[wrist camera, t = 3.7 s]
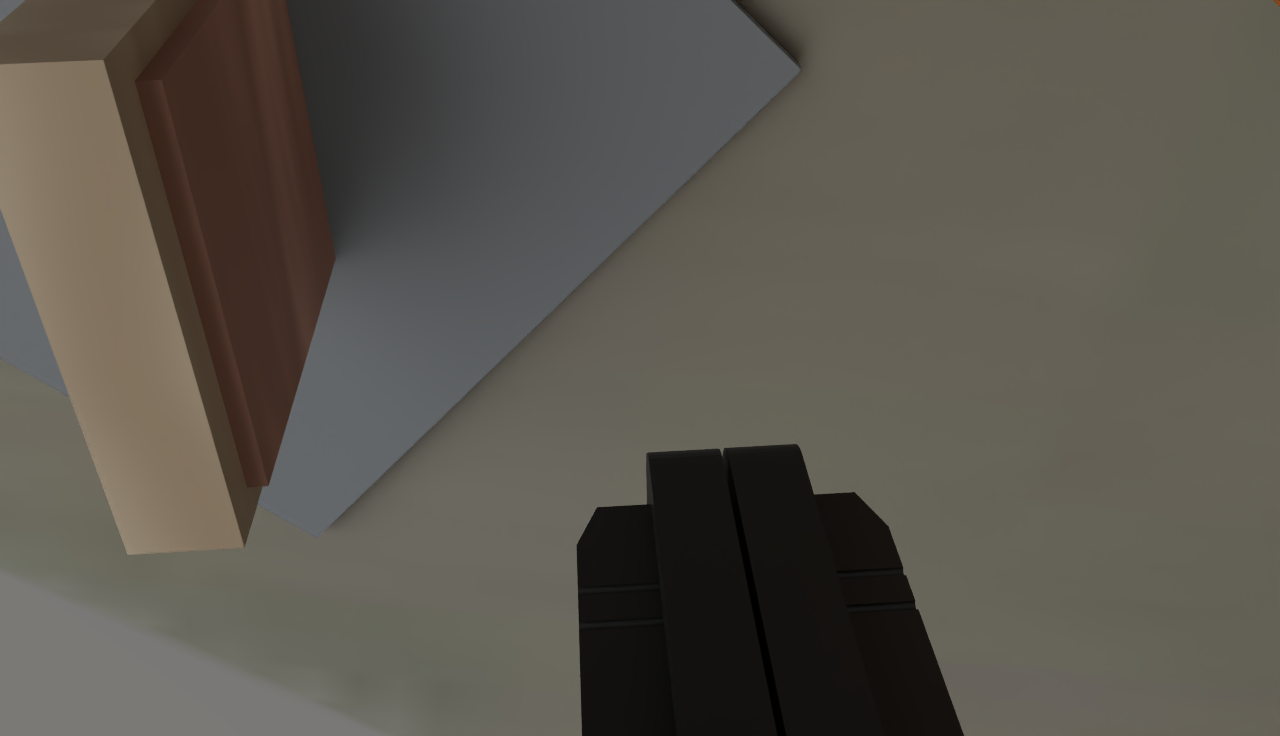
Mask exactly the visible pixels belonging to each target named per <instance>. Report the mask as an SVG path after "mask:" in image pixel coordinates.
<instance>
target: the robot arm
mask: <svg viewBox="0 0 1280 736" xmlns="http://www.w3.org/2000/svg"><path fill="white" fill-rule="evenodd" d="M646 476H647V505H630V506H613V507H597V509H596V510H595V512H594V514H593V516H592V518H591V520H590V521H589V523H588V525H587V527H586V529H585V531H584V533H583V534H582V536H581V538H580V540H579V542H578V544H577V573H578V608H579V643H580V678H581V713H582V736H964V734H963V732H962V729H961V726H960V723H959V721H958V718H957V715H956V712H955V710H954V707H953V704H952V701H951V698H950V696H949V693H948V690H947V687H946V685H945V682H944V679H943V676H942V674H941V671H940V668H939V665H938V662H937V660H936V657H935V654H934V651H933V649H932V646H931V643H930V640H929V638H928V635H927V632H926V629H925V626H924V624H923V621H922V618H921V615H920V613H919V610H918V609H917V610H916V607H915V599H914V596H913V593H912V590H911V588H910V585H909V582H908V579H907V577H906V575H904V574H903V566H902V563H901V560H900V557H899V554H898V552H897V549H896V546H895V543H894V541H893V538H892V535H891V532H890V530H889V527H888V526H887V525H886V524H885V523H884V521H883V520H882V519H881V518H880V517H879V516H878V515H877V514H876V513H875V512H874V511H873V510H872V509H871V508H870V507H869V506H868V505H867V504H866V503H865V502H864V501H863V500H862V499H861V498H860V497H859V496H858V495H857V494H856V493H855V492H851V493H834V494H817V495H814V493H813V490H812V486H811V483H810V480H809V476H808V473H807V469H806V466H805V462H804V459H803V456H802V453H801V450H800V448H799V446H798V445H797V444H789V445H771V446H753V447H734V448H724V451H723V456H722V455H721V452H720V450H719V449H704V450H686V451H668V452H650V453H647V456H646Z"/></svg>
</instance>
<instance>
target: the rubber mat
mask: <svg viewBox="0 0 1280 736" xmlns="http://www.w3.org/2000/svg"><path fill="white" fill-rule="evenodd" d="M24 1H26V0H0V22H1V21H2V20H3V19H4V18H6V17H7V16H8V15H9V14H10V13H12V12H13V11H14V10H15V9H16V8H17V7H19V6H20V5H21V4H22V3H23V2H24ZM286 3H287V8H288V13H289V18H290V23H291V28H292V34H293V39H294V44H295V49H296V54H297V60H298V65H299V70H300V75H301V80H302V86H303V91H304V96H305V101H306V106H307V112H308V117H309V122H310V127H311V132H312V137H313V143H314V148H315V153H316V158H317V163H318V169H319V174H320V179H321V184H322V189H323V195H324V200H325V205H326V210H327V215H328V221H329V226H330V231H331V236H332V241H333V247H334V252H335V257H336V260H335V263H334V267H333V270H332V273H331V277H330V280H329V284H328V287H327V290H326V294H325V297H324V300H323V304H322V307H321V311H320V314H319V317H318V321H317V324H316V327H315V331H314V334H313V338H312V341H311V344H310V348H309V351H308V355H307V358H306V361H305V365H304V368H303V371H302V375H301V378H300V382H299V385H298V388H297V392H296V395H295V399H294V402H293V405H292V409H291V412H290V415H289V419H288V422H287V426H286V429H285V432H284V436H283V439H282V442H281V446H280V449H279V453H278V456H277V459H276V463H275V466H274V470H273V473H272V476H271V480H270V483H269V486H264V487H263V488H262V491H261V494H260V497H259V501H258V505H259V506H261V507H263V508H265V509H266V510H268V511H270V512H272V513H273V514H275V515H277V516H279V517H280V518H282V519H284V520H286V521H287V522H289V523H291V524H293V525H294V526H296V527H298V528H300V529H301V530H303V531H305V532H307V533H308V534H310V535H312V536H314V537H315V538H317V537H319V536H320V535H321V534H322V533H323V532H324V531H325V530H326V529H327V528H328V527H329V526H330V525H331V524H332V523H333V522H334V521H335V520H336V519H337V518H338V517H339V516H340V515H341V514H342V513H343V512H344V511H345V510H346V509H348V508H349V507H350V506H351V505H352V504H353V503H354V502H355V501H356V500H357V499H358V498H359V497H360V496H361V495H362V494H363V493H364V492H365V491H366V490H367V489H368V488H369V487H370V486H371V485H372V484H373V483H374V482H376V481H377V480H378V479H379V478H380V477H381V476H382V475H383V474H384V473H385V472H386V471H387V470H388V469H389V468H390V467H391V466H392V465H393V464H394V463H395V462H396V461H397V460H398V459H399V458H400V457H401V456H402V455H403V454H405V453H406V452H407V451H408V450H409V449H410V448H411V447H412V446H413V445H414V444H415V443H416V442H417V441H418V440H419V439H420V438H421V437H422V436H423V435H424V434H425V433H426V432H427V431H428V430H429V429H430V428H431V427H433V426H434V425H435V424H436V423H437V422H438V421H439V420H440V419H441V418H442V417H443V416H444V415H445V414H446V413H447V412H448V411H449V410H450V409H451V408H452V407H453V406H454V405H455V404H456V403H457V402H458V401H459V400H460V399H462V398H463V397H464V396H465V395H466V394H467V393H468V392H469V391H470V390H471V389H472V388H473V387H474V386H475V385H476V384H477V383H478V382H479V381H480V380H481V379H482V378H483V377H484V376H485V375H486V374H487V373H488V372H490V371H491V370H492V369H493V368H494V367H495V366H496V365H497V364H498V363H499V362H500V361H501V360H502V359H503V358H504V357H505V356H506V355H507V354H508V353H509V352H510V351H511V350H512V349H513V348H514V347H515V346H516V345H517V344H519V343H520V342H521V341H522V340H523V339H524V338H525V337H526V336H527V335H528V334H529V333H530V332H531V331H532V330H533V329H534V328H535V327H536V326H537V325H538V324H539V323H540V322H541V321H542V320H543V319H544V318H545V317H547V316H548V315H549V314H550V313H551V312H552V311H553V310H554V309H555V308H556V307H557V306H558V305H559V304H560V303H561V302H562V301H563V300H564V299H565V298H566V297H567V296H568V295H569V294H570V293H571V292H572V291H573V290H574V289H576V288H577V287H578V286H579V285H580V284H581V283H582V282H583V281H584V280H585V279H586V278H587V277H588V276H589V275H590V274H591V273H592V272H593V271H594V270H595V269H596V268H597V267H598V266H599V265H600V264H601V263H602V262H604V261H605V260H606V259H607V258H608V257H609V256H610V255H611V254H612V253H613V252H614V251H615V250H616V249H617V248H618V247H619V246H620V245H621V244H622V243H623V242H624V241H625V240H626V239H627V238H628V237H629V236H630V235H632V234H633V233H634V232H635V231H636V230H637V229H638V228H639V227H640V226H641V225H642V224H643V223H644V222H645V221H646V220H647V219H648V218H649V217H650V216H651V215H652V214H653V213H654V212H655V211H656V210H657V209H658V208H659V207H661V206H662V205H663V204H664V203H665V202H666V201H667V200H668V199H669V198H670V197H671V196H672V195H673V194H674V193H675V192H676V191H677V190H678V189H679V188H680V187H681V186H682V185H683V184H684V183H685V182H686V181H687V180H689V179H690V178H691V177H692V176H693V175H694V174H695V173H696V172H697V171H698V170H699V169H700V168H701V167H702V166H703V165H704V164H705V163H706V162H707V161H708V160H709V159H710V158H711V157H712V156H713V155H714V154H715V153H716V152H718V151H719V150H720V149H721V148H722V147H723V146H724V145H725V144H726V143H727V142H728V141H729V140H730V139H731V138H732V137H733V136H734V135H735V134H736V133H737V132H738V131H739V130H740V129H741V128H742V127H743V126H744V125H746V124H747V123H748V122H749V121H750V120H751V119H752V118H753V117H754V116H755V115H756V114H757V113H758V112H759V111H760V110H761V109H762V108H763V107H764V106H765V105H766V104H767V103H768V102H769V101H770V100H771V99H772V98H773V97H775V96H776V95H777V94H778V93H779V92H780V91H781V90H782V89H783V88H784V87H785V86H786V85H787V84H788V83H789V82H790V81H791V80H792V79H793V78H794V77H795V76H796V75H797V74H798V73H799V72H800V71H801V68H800V66H799V64H798V62H797V61H796V60H795V59H794V58H793V57H792V56H791V55H790V54H789V53H788V52H787V51H786V50H785V49H784V48H783V47H782V46H781V45H780V44H779V43H778V42H777V41H776V40H775V39H774V38H773V37H772V36H771V35H769V34H768V33H767V32H766V31H765V30H764V29H763V28H762V27H761V26H760V25H759V24H758V23H757V22H756V21H755V20H754V19H753V18H752V17H751V16H750V15H749V14H748V13H747V12H746V11H745V10H744V9H743V8H742V7H741V6H740V5H739V4H738V3H737V2H736V1H735V0H286ZM0 358H2V359H3V360H5V361H7V362H9V363H10V364H12V365H14V366H16V367H17V368H19V369H21V370H23V371H24V372H26V373H28V374H30V375H31V376H33V377H35V378H37V379H38V380H40V381H42V382H44V383H45V384H47V385H49V386H51V387H52V388H54V389H56V390H58V391H59V392H61V393H63V394H65V395H66V396H68V397H69V394H68V391H67V388H66V386H65V383H64V380H63V377H62V375H61V372H60V369H59V367H58V364H57V361H56V358H55V356H54V353H53V350H52V348H51V345H50V342H49V339H48V337H47V334H46V331H45V329H44V326H43V323H42V320H41V318H40V315H39V312H38V310H37V307H36V304H35V301H34V299H33V296H32V293H31V291H30V288H29V285H28V282H27V280H26V277H25V274H24V272H23V269H22V266H21V263H20V261H19V258H18V255H17V252H16V250H15V247H14V244H13V242H12V239H11V236H10V233H9V231H8V228H7V225H6V223H5V220H4V217H3V214H2V212H1V209H0Z"/></svg>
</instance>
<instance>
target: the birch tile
mask: <svg viewBox="0 0 1280 736" xmlns="http://www.w3.org/2000/svg"><path fill="white" fill-rule="evenodd" d="M0 209H1V212H2V214H3V217H4V220H5V223H6V225H7V228H8V231H9V233H10V236H11V239H12V242H13V244H14V247H15V250H16V252H17V255H18V258H19V261H20V263H21V266H22V269H23V272H24V274H25V277H26V280H27V282H28V285H29V288H30V291H31V293H32V296H33V299H34V301H35V304H36V307H37V310H38V312H39V315H40V318H41V320H42V323H43V326H44V329H45V331H46V334H47V337H48V339H49V342H50V345H51V348H52V350H53V353H54V356H55V358H56V361H57V364H58V367H59V369H60V372H61V375H62V377H63V380H64V383H65V386H66V388H67V391H68V394H69V397H70V399H71V402H72V405H73V407H74V410H75V413H76V416H77V418H78V421H79V424H80V426H81V429H82V432H83V435H84V437H85V440H86V443H87V445H88V448H89V451H90V454H91V456H92V459H93V462H94V464H95V467H96V470H97V473H98V475H99V478H100V481H101V483H102V486H103V489H104V492H105V494H106V497H107V500H108V502H109V505H110V508H111V511H112V513H113V516H114V519H115V522H116V524H117V527H118V530H119V532H120V535H121V538H122V541H123V543H124V546H125V549H126V551H127V554H128V555H132V554H149V553H165V552H181V551H197V550H213V549H229V548H244V547H245V544H246V541H247V537H248V534H249V531H250V527H251V524H252V521H253V517H254V514H255V511H256V507H257V504H258V501H259V497H260V494H261V491H262V488H263V487H264V486H269V483H270V480H271V476H272V473H273V470H274V466H275V463H276V459H277V456H278V453H279V449H280V446H281V442H282V439H283V436H284V432H285V429H286V426H287V422H288V419H289V415H290V412H291V409H292V405H293V402H294V399H295V395H296V392H297V388H298V385H299V382H300V378H301V375H302V371H303V368H304V365H305V361H306V358H307V355H308V351H309V348H310V344H311V341H312V338H313V334H314V331H315V327H316V324H317V321H318V317H319V314H320V311H321V307H322V304H323V300H324V297H325V294H326V290H327V287H328V284H329V280H330V277H331V273H332V270H333V267H334V263H335V260H336V257H335V252H334V247H333V241H332V236H331V231H330V226H329V221H328V215H327V210H326V205H325V200H324V195H323V189H322V184H321V179H320V174H319V169H318V163H317V158H316V153H315V148H314V143H313V137H312V132H311V127H310V122H309V117H308V112H307V106H306V101H305V96H304V91H303V86H302V80H301V75H300V70H299V65H298V60H297V54H296V49H295V44H294V39H293V34H292V28H291V23H290V18H289V13H288V8H287V3H286V0H26V1H24V2H23V3H22V4H21V5H20V6H19V7H17V8H16V9H15V10H14V11H13V12H12V13H10V14H9V15H8V16H7V17H6V18H4V19H3V20H2V21H1V22H0Z"/></svg>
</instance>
